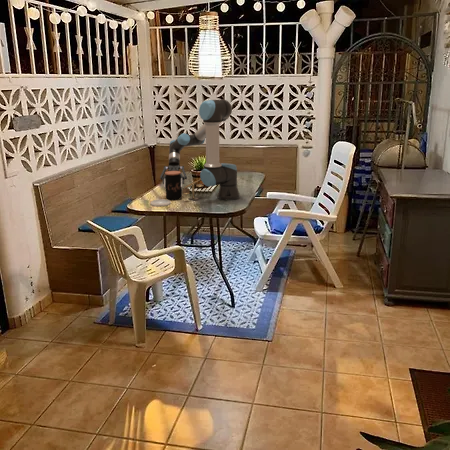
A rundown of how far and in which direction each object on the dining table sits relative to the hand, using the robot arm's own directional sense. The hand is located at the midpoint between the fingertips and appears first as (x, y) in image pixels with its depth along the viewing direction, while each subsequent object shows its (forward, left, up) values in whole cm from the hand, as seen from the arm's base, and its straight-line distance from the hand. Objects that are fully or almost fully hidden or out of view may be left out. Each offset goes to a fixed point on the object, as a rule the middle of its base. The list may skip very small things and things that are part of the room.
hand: (173, 187), depth 318 cm
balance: (-10, -9, -8) cm, 16 cm away
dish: (-3, +13, -8) cm, 16 cm away
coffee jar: (+2, -2, -8) cm, 9 cm away
